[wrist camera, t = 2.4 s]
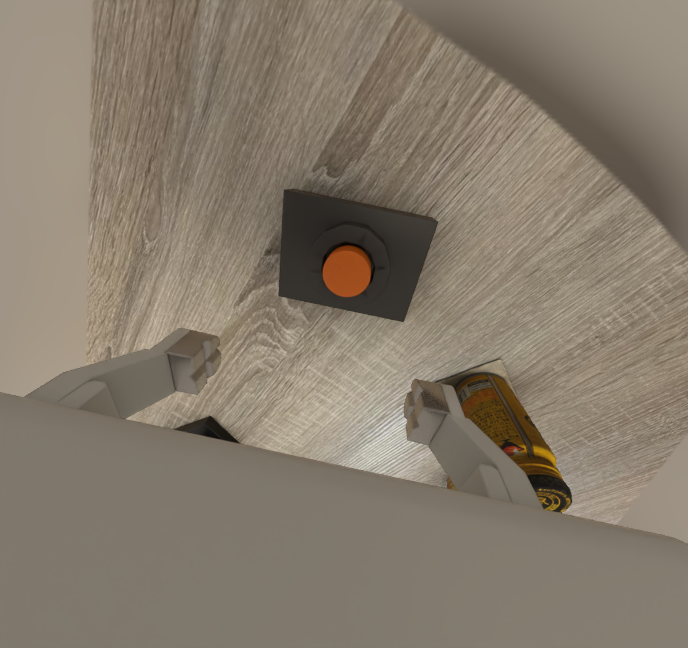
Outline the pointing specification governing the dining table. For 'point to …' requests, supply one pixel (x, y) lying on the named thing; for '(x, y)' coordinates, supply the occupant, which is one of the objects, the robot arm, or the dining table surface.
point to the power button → (347, 271)
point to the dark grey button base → (357, 230)
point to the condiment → (511, 429)
